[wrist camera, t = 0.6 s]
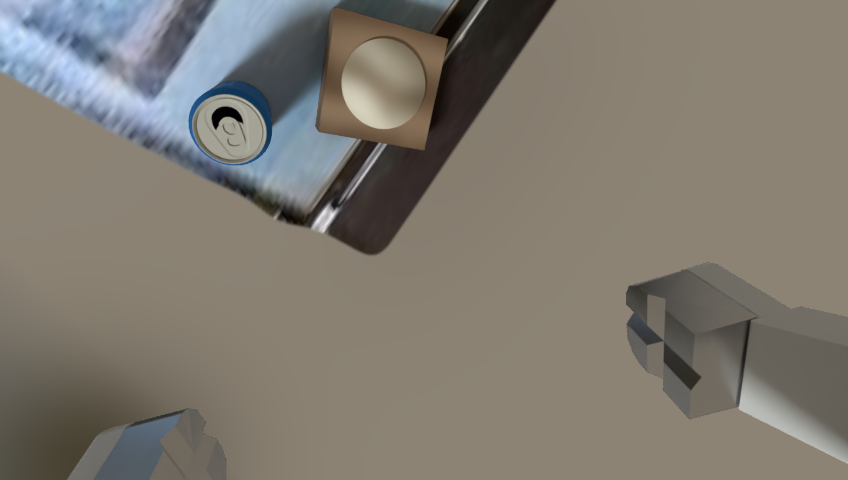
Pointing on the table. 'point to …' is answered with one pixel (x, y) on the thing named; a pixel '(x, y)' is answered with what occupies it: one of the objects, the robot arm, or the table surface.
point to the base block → (378, 80)
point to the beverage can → (231, 123)
